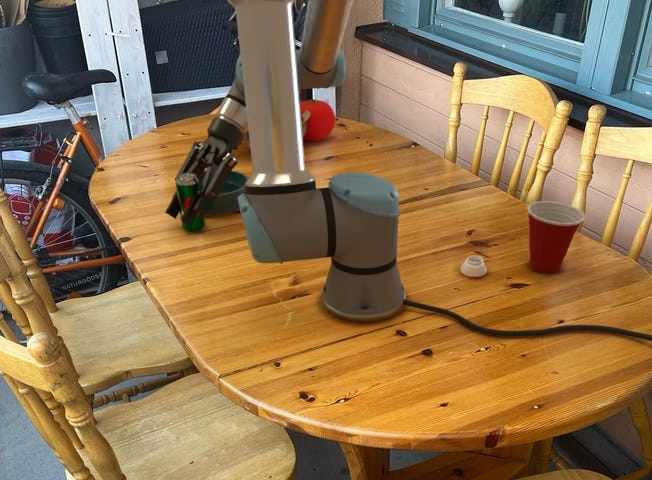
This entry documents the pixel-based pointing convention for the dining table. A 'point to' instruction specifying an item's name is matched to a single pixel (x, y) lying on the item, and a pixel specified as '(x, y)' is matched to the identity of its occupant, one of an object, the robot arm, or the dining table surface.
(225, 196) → the glazed bowl
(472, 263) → the lidless jar
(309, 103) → the tomato
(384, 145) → the dining table surface
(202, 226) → the soda can
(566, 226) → the plastic cup
